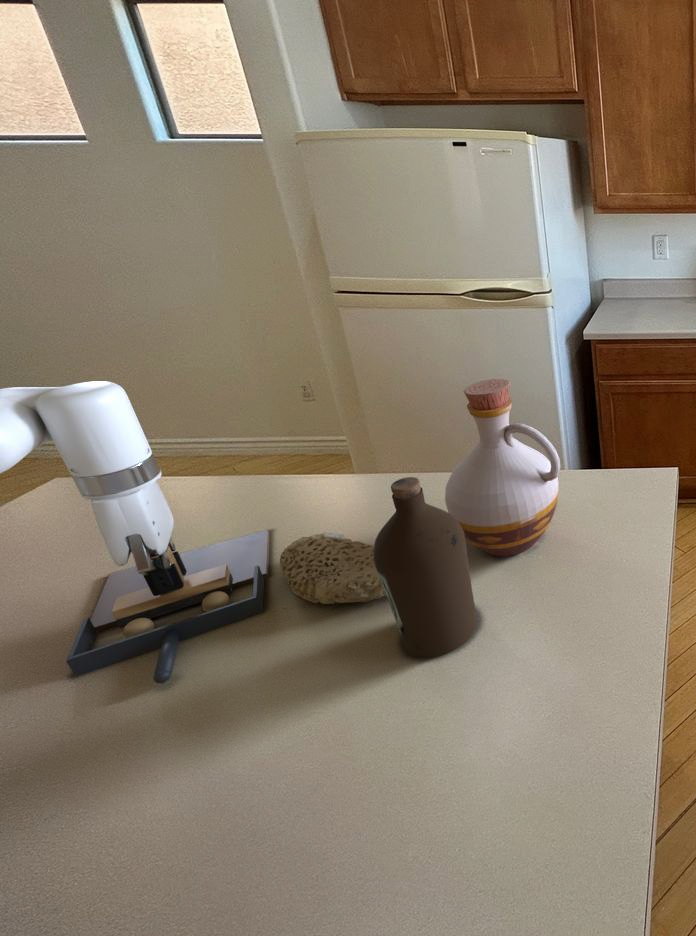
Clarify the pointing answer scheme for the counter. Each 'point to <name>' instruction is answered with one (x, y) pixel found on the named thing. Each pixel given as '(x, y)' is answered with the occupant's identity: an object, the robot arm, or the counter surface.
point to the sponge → (331, 569)
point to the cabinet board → (191, 570)
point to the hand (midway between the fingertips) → (170, 583)
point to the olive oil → (425, 573)
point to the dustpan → (160, 636)
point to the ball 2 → (215, 601)
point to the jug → (502, 478)
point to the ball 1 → (137, 627)
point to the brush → (172, 594)
